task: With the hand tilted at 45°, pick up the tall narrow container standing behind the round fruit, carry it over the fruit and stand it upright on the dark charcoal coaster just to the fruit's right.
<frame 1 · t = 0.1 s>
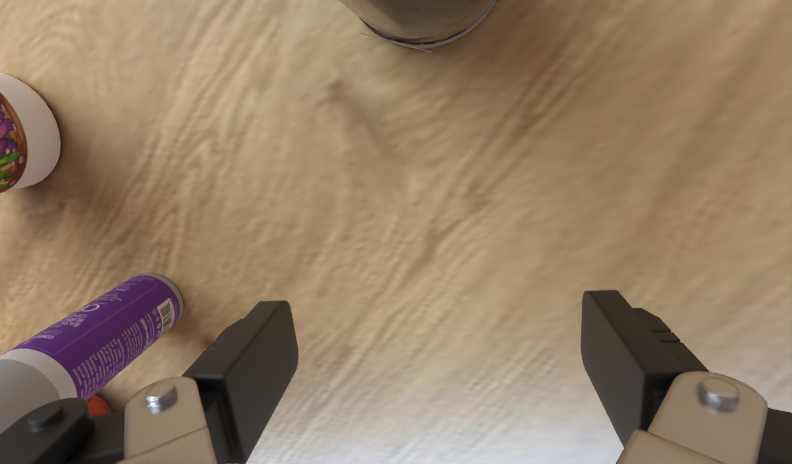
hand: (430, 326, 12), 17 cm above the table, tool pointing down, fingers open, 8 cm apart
container: (156, 299, 34), on the table
fruit: (87, 410, 38), on the table
milk bottle: (15, 130, 31), on the table
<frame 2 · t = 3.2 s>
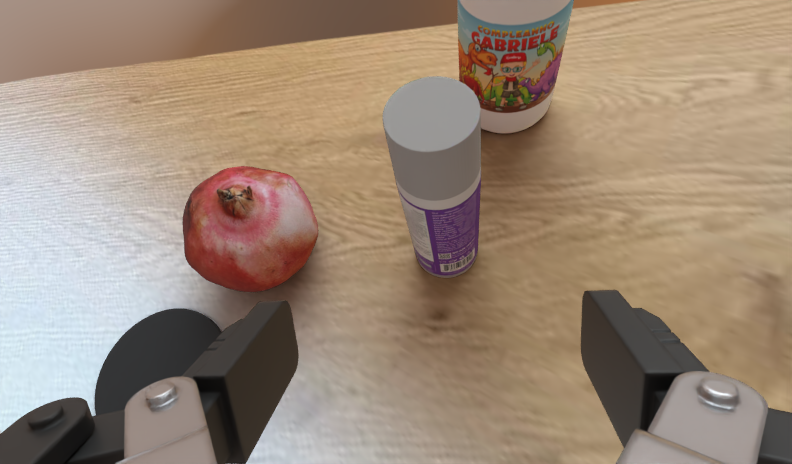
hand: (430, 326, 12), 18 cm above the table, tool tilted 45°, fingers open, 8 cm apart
container: (446, 250, 33), on the table
coaster: (163, 376, 32), on the table
fruit: (273, 252, 35), on the table
milk bottle: (504, 103, 39), on the table
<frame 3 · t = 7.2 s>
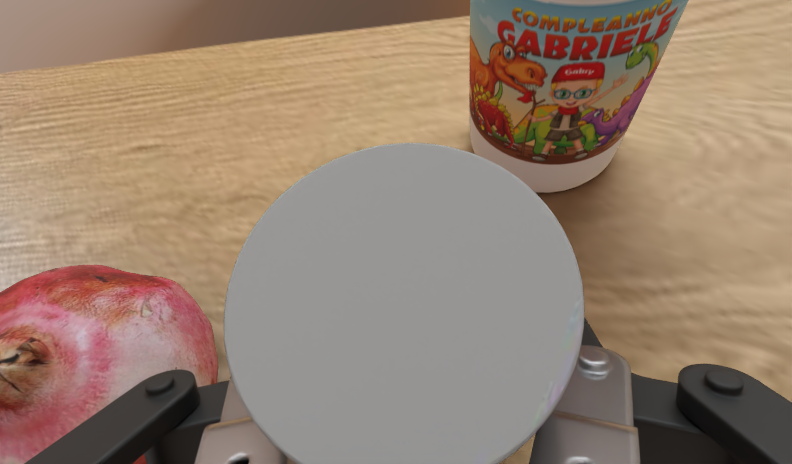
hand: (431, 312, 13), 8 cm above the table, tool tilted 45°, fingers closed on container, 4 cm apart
container: (446, 409, 19), on the table, touching gripper
fruit: (154, 395, 21), on the table
milk bottle: (539, 140, 24), on the table
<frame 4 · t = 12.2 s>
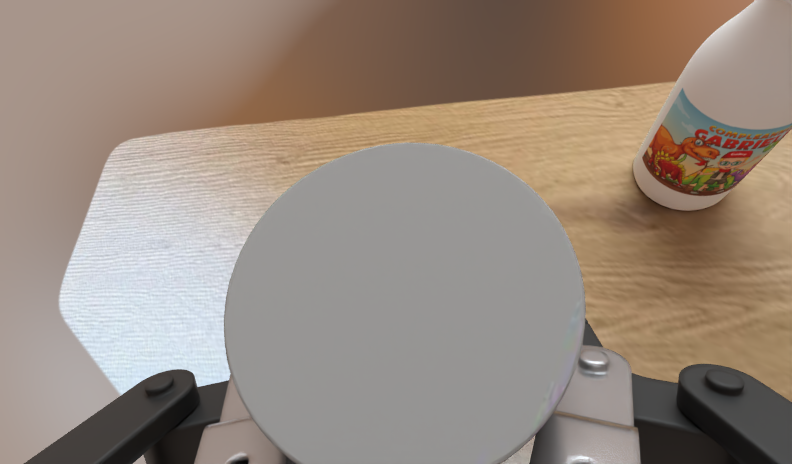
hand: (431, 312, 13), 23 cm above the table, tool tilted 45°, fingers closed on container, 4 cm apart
container: (446, 409, 19), point 15 cm above the table, touching gripper
milk bottle: (677, 176, 39), on the table
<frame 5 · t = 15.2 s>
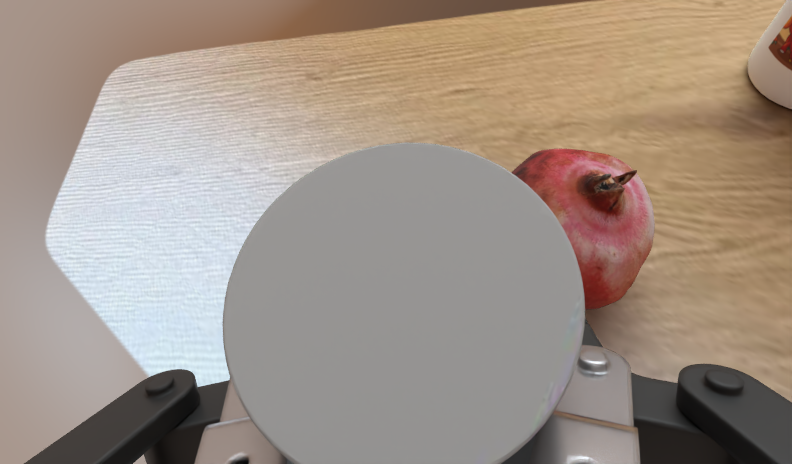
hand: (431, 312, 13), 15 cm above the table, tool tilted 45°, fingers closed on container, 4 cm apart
container: (446, 409, 19), point 7 cm above the table, touching gripper
coaster: (450, 417, 25), on the table
fruit: (551, 258, 28), on the table
when the fingers open (8 cm above the table, at t = 17.4 s): container stays where it is, resting on coaster.
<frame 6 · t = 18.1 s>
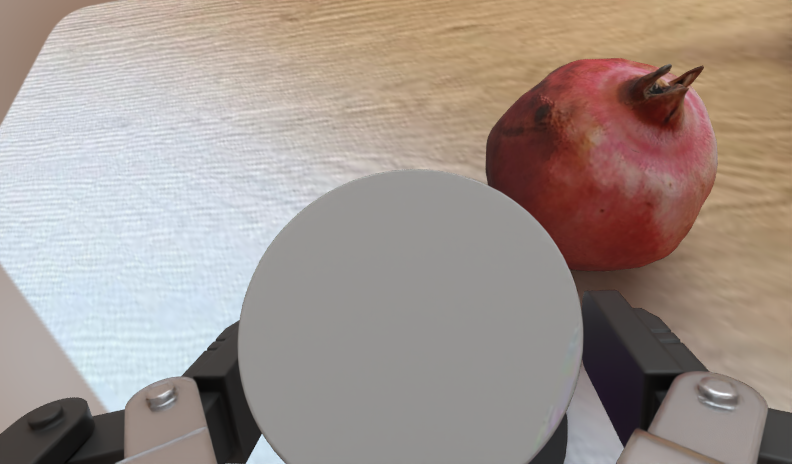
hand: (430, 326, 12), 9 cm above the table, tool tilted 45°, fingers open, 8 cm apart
container: (447, 415, 19), resting on coaster
coaster: (445, 410, 19), on the table
fruit: (573, 214, 23), on the table
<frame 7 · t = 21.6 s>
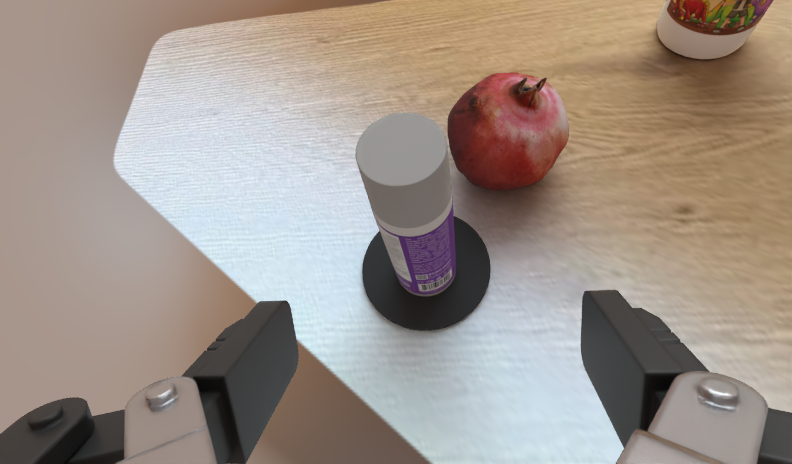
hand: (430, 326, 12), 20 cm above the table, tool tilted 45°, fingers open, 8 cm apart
container: (426, 269, 34), resting on coaster
coaster: (425, 267, 35), on the table
fruit: (503, 164, 38), on the table
milk bottle: (697, 35, 42), on the table
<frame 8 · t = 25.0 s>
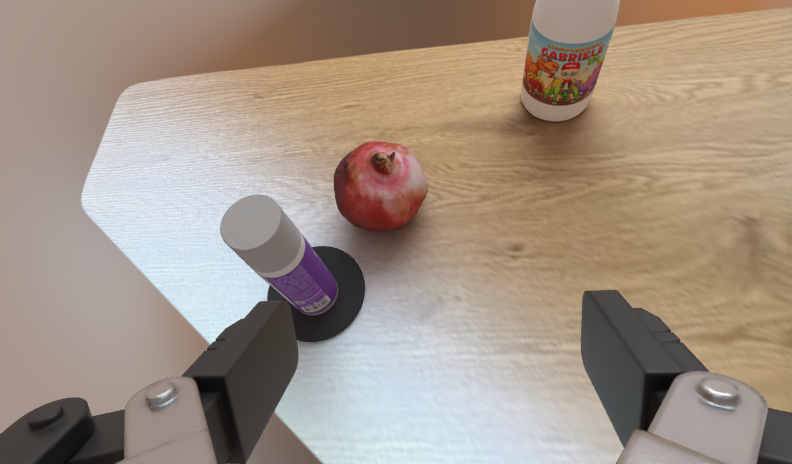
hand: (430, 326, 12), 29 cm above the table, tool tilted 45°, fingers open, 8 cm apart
container: (316, 293, 44), resting on coaster
coaster: (316, 292, 44), on the table
fruit: (386, 207, 48), on the table
milk bottle: (553, 99, 51), on the table
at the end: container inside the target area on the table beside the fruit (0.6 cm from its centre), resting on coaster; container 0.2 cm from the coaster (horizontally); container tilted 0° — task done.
